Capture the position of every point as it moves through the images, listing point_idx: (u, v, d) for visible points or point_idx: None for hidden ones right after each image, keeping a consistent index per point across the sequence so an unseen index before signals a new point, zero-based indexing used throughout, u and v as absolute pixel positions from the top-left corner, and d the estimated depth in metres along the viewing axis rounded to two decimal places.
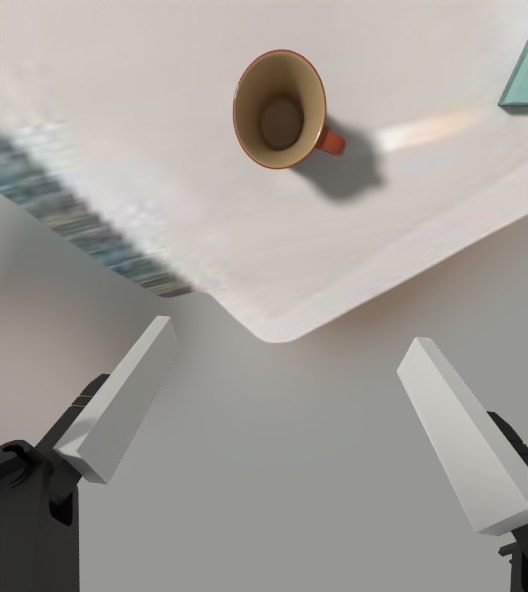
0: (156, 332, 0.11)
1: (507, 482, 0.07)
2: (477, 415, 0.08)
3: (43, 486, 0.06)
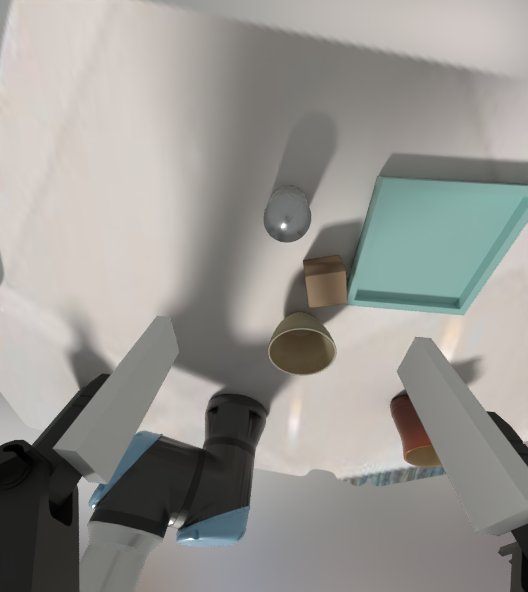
0: (156, 332, 0.11)
1: (507, 482, 0.07)
2: (477, 415, 0.08)
3: (43, 486, 0.06)
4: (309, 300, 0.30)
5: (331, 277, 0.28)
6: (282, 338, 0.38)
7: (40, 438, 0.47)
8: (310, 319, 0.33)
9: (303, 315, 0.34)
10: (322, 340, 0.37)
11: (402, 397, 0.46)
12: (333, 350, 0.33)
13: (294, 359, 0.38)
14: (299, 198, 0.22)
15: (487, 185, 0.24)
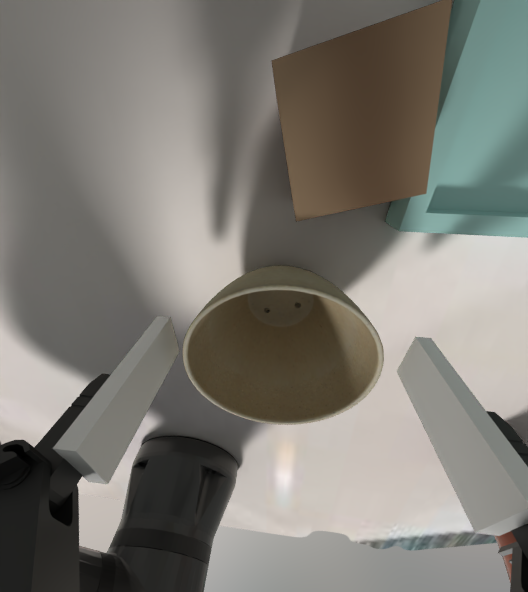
0: (156, 332, 0.11)
1: (507, 482, 0.07)
2: (477, 415, 0.08)
3: (43, 486, 0.06)
4: (295, 188, 0.09)
5: (381, 51, 0.07)
6: (241, 332, 0.17)
7: None
8: (302, 270, 0.11)
9: None
10: (335, 335, 0.15)
11: None
12: (371, 359, 0.11)
13: (269, 380, 0.16)
14: None
15: None
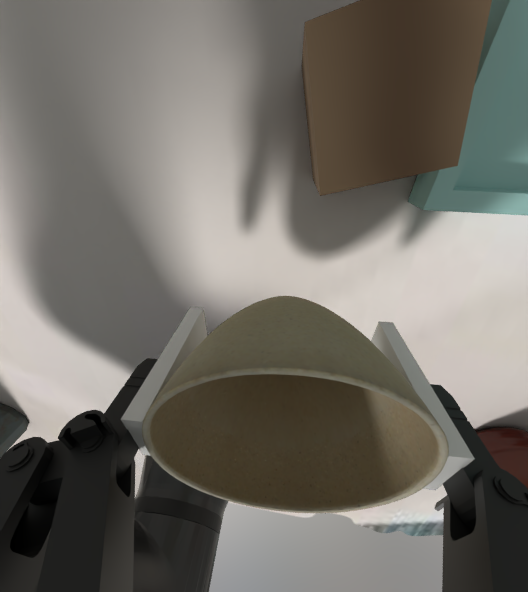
0: (192, 321, 0.12)
1: None
2: (420, 385, 0.09)
3: (113, 456, 0.07)
4: (321, 160, 0.09)
5: (422, 8, 0.06)
6: (235, 375, 0.13)
7: None
8: (320, 317, 0.08)
9: (292, 303, 0.09)
10: (359, 388, 0.11)
11: (494, 432, 0.24)
12: (421, 450, 0.08)
13: (270, 440, 0.12)
14: None
15: None
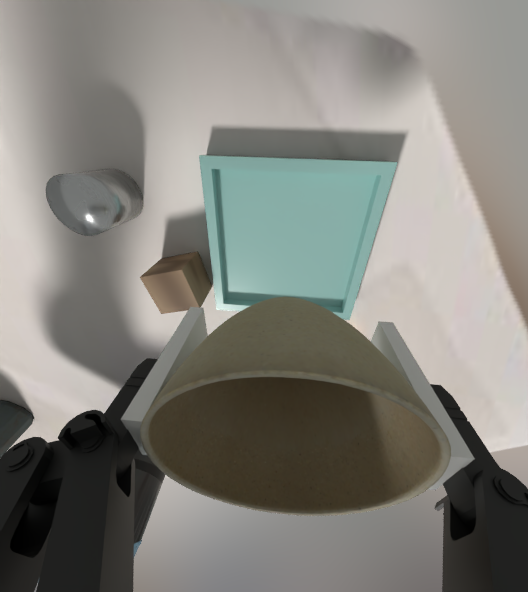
0: (192, 321, 0.12)
1: None
2: (420, 385, 0.09)
3: (113, 456, 0.07)
4: (157, 305, 0.26)
5: (169, 277, 0.24)
6: None
7: None
8: (321, 319, 0.08)
9: (292, 304, 0.09)
10: (360, 389, 0.11)
11: None
12: (423, 453, 0.08)
13: (270, 442, 0.12)
14: (77, 179, 0.18)
15: (321, 161, 0.19)
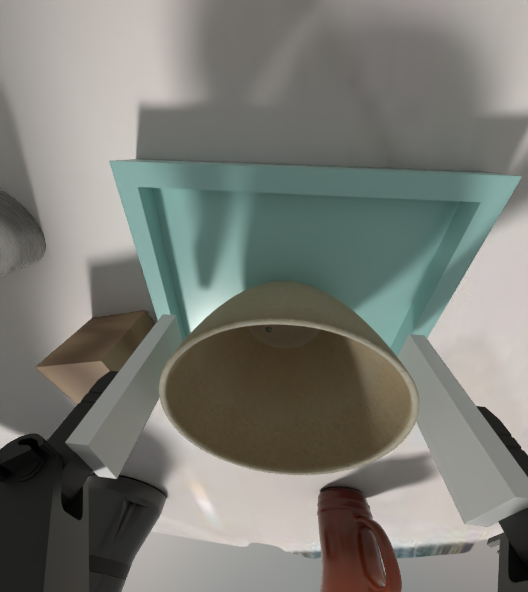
0: (162, 330, 0.11)
1: (494, 473, 0.07)
2: (467, 409, 0.08)
3: (56, 480, 0.06)
4: (76, 401, 0.16)
5: (83, 369, 0.14)
6: (238, 355, 0.14)
7: None
8: (312, 291, 0.09)
9: (289, 282, 0.10)
10: (350, 364, 0.12)
11: (331, 492, 0.32)
12: (400, 407, 0.09)
13: (269, 414, 0.13)
14: None
15: (358, 174, 0.09)
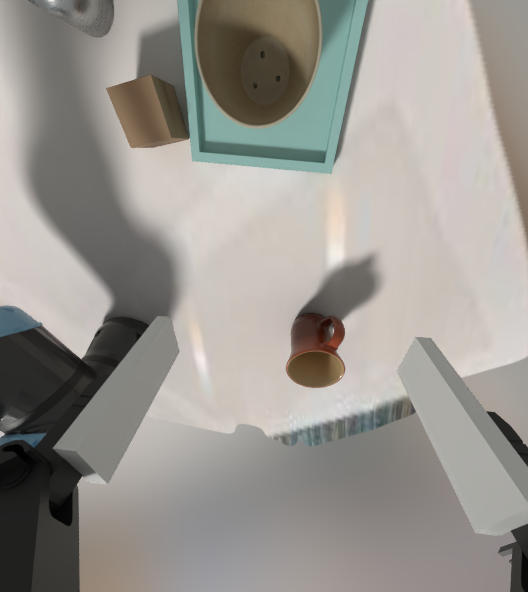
0: (156, 332, 0.11)
1: (507, 482, 0.07)
2: (477, 415, 0.08)
3: (43, 486, 0.06)
4: (126, 133, 0.24)
5: (137, 87, 0.22)
6: (234, 92, 0.23)
7: None
8: None
9: None
10: (301, 78, 0.21)
11: (302, 315, 0.40)
12: (317, 43, 0.17)
13: (253, 120, 0.22)
14: None
15: None
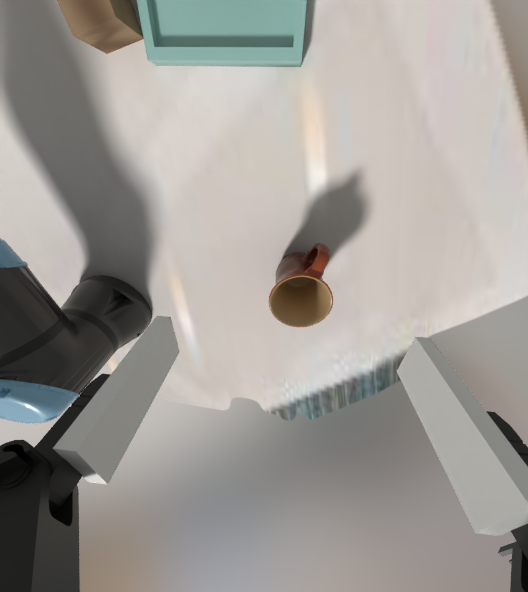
0: (156, 332, 0.11)
1: (507, 482, 0.07)
2: (477, 415, 0.08)
3: (43, 486, 0.06)
4: (66, 16, 0.22)
5: None
6: None
7: None
8: None
9: None
10: None
11: (287, 256, 0.37)
12: None
13: None
14: None
15: None
